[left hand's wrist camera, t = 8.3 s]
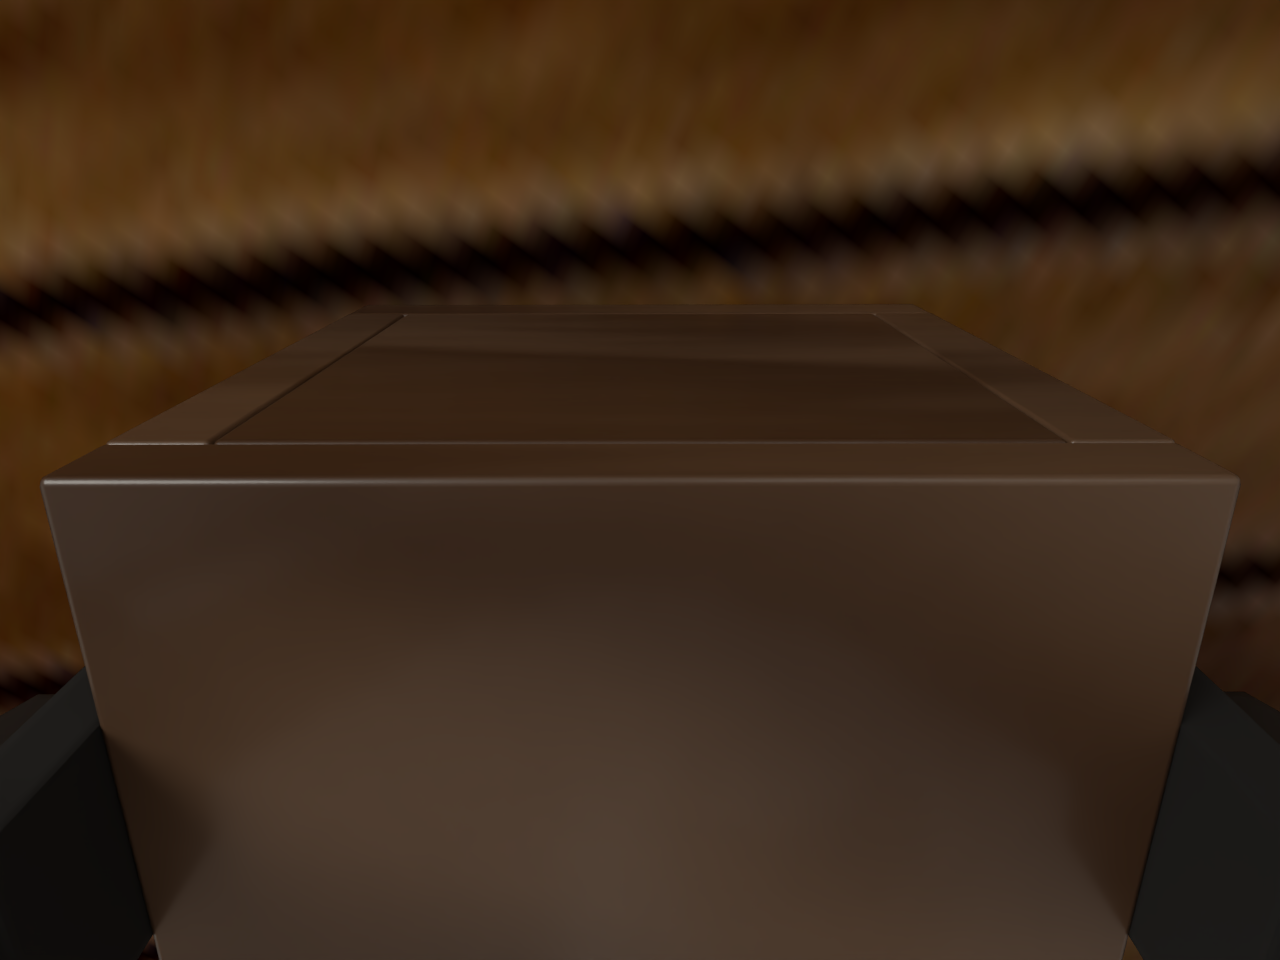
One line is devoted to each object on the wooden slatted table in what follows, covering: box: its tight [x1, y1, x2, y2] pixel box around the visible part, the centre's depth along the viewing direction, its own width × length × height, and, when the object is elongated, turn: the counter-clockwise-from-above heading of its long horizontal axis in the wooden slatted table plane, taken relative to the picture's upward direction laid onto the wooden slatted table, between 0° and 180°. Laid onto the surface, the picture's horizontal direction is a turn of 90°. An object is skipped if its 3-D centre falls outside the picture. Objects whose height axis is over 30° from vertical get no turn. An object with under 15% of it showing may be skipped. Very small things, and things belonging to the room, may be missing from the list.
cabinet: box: [40, 304, 1241, 960], centre depth 15 cm, size 18×11×10 cm, turn 0°
